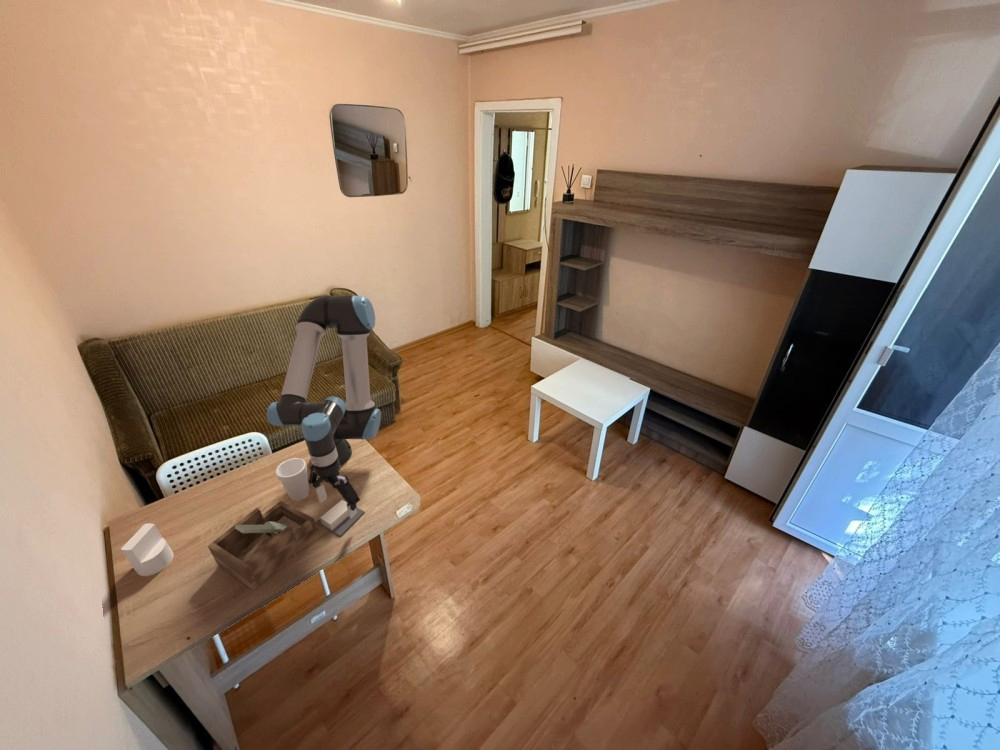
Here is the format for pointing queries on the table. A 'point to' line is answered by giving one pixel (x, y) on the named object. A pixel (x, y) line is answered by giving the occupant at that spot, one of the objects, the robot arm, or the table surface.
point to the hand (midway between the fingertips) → (338, 507)
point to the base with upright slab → (148, 551)
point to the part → (335, 515)
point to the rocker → (263, 528)
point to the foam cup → (294, 478)
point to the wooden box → (271, 553)
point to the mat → (344, 523)
